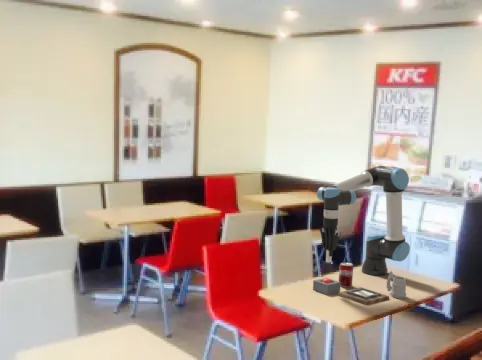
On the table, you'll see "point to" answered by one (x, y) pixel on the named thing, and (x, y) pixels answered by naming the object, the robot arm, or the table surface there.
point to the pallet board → (363, 295)
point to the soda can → (346, 274)
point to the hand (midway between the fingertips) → (328, 262)
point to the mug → (397, 286)
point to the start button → (327, 280)
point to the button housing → (326, 286)
